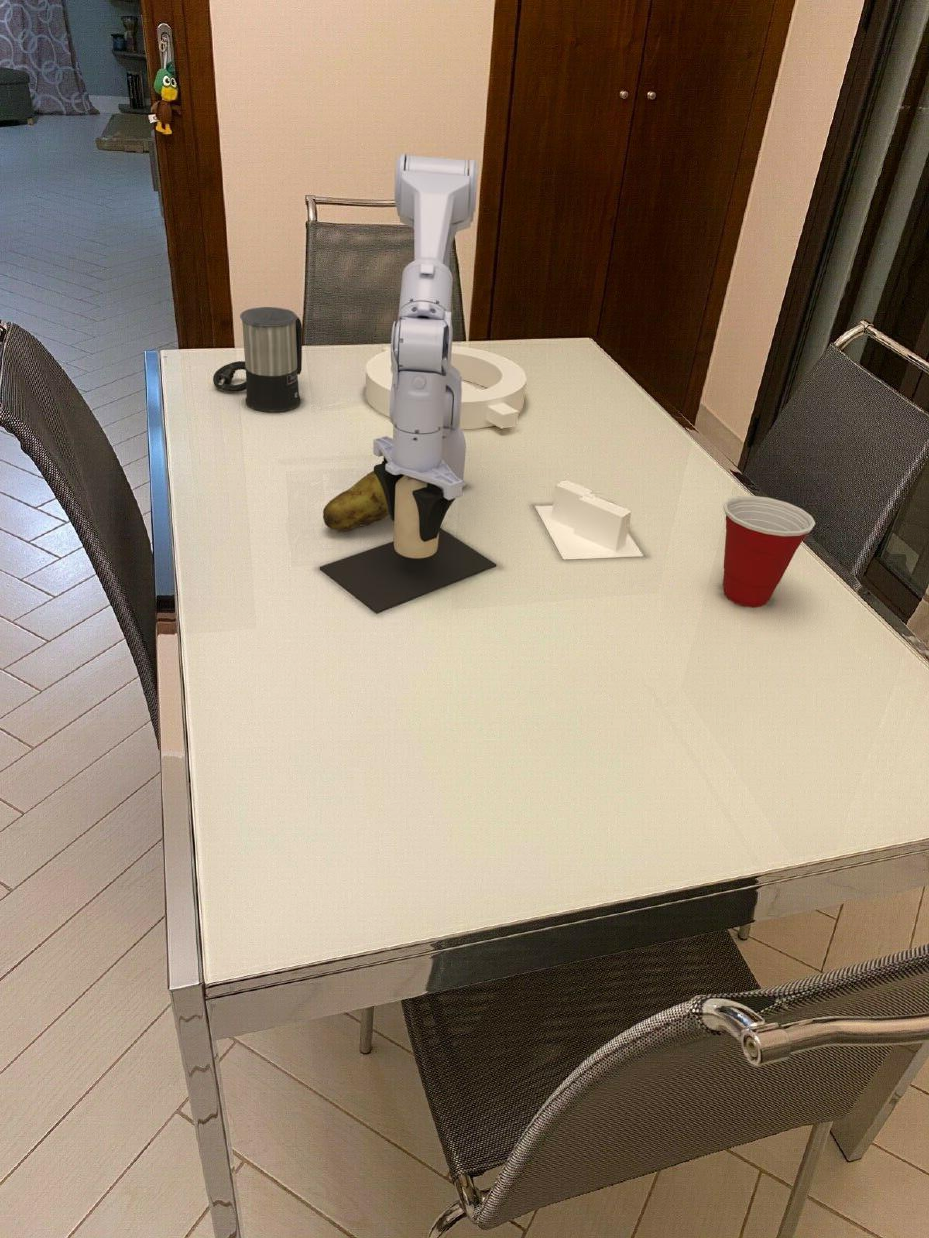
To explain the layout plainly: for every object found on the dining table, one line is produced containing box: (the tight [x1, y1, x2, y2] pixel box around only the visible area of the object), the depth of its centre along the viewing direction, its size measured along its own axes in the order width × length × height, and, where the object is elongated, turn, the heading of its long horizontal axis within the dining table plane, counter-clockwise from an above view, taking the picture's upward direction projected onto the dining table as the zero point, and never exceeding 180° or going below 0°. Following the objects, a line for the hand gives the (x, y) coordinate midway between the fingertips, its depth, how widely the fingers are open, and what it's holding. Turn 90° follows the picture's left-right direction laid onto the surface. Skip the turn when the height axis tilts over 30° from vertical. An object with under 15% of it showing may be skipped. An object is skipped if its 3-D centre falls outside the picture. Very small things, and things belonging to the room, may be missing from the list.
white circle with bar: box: [365, 345, 527, 430], centre depth 166 cm, size 28×28×5 cm
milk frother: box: [212, 306, 303, 413], centre depth 157 cm, size 14×16×15 cm
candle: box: [393, 475, 439, 558], centre depth 114 cm, size 6×6×10 cm
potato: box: [322, 470, 390, 532], centre depth 125 cm, size 8×13×8 cm, turn 102°
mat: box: [319, 527, 498, 614], centre depth 119 cm, size 19×12×1 cm, turn 130°
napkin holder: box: [534, 479, 644, 560], centre depth 129 cm, size 15×11×6 cm
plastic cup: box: [722, 495, 817, 608], centre depth 116 cm, size 11×11×12 cm
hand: (413, 528), depth 115 cm, fingers closed on candle, 5 cm apart
